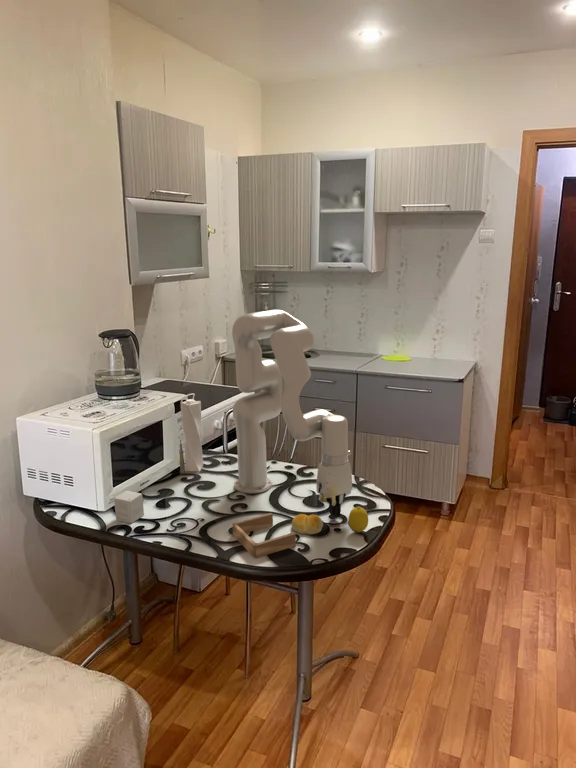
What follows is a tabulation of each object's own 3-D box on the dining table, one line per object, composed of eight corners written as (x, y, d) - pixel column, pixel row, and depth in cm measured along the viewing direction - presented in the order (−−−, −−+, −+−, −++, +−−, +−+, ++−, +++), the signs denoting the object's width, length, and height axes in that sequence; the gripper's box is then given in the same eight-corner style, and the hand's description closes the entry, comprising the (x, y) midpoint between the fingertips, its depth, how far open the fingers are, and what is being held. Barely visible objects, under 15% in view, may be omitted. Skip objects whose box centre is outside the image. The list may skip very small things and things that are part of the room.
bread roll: (295, 520, 176) (294, 508, 175) (324, 523, 174) (324, 511, 173) (288, 533, 169) (288, 521, 168) (319, 537, 166) (319, 524, 165)
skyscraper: (185, 464, 220) (181, 392, 213) (207, 465, 219) (203, 392, 212) (179, 473, 212) (174, 399, 205) (201, 474, 211) (197, 399, 204)
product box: (144, 515, 181) (142, 493, 179) (131, 524, 175) (129, 501, 174) (128, 511, 183) (126, 490, 181) (115, 520, 178) (113, 498, 176)
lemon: (366, 527, 171) (366, 502, 169) (369, 537, 166) (370, 511, 164) (347, 528, 171) (347, 502, 169) (350, 537, 165) (350, 511, 163)
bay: (232, 534, 168) (231, 523, 167) (271, 523, 174) (271, 512, 173) (254, 558, 156) (254, 546, 155) (295, 545, 162) (295, 533, 161)
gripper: (348, 448, 178) (348, 504, 182) (306, 458, 171) (307, 516, 175) (363, 456, 171) (363, 514, 176) (319, 467, 164) (320, 527, 169)
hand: (335, 515), depth 175 cm, fingers closed
